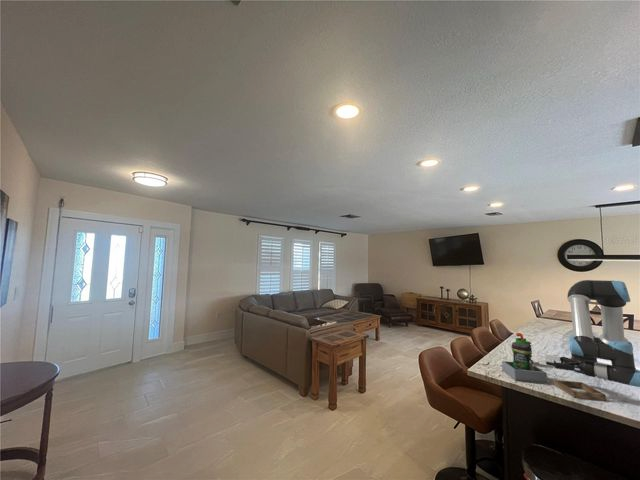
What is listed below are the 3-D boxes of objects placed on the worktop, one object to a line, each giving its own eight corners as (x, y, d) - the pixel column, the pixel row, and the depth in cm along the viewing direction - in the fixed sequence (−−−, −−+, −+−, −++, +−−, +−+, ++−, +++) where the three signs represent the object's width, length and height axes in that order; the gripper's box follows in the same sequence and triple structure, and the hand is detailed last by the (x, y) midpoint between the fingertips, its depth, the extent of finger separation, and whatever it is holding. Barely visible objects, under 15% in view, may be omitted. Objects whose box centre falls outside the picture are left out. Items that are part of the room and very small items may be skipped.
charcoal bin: (531, 373, 160) (530, 363, 161) (547, 383, 145) (546, 372, 146) (502, 370, 164) (501, 360, 164) (515, 380, 148) (514, 369, 149)
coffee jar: (511, 373, 156) (509, 342, 158) (516, 371, 161) (513, 340, 163) (531, 379, 148) (528, 345, 151) (535, 376, 153) (532, 343, 155)
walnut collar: (582, 387, 140) (581, 382, 140) (606, 401, 125) (605, 394, 126) (554, 385, 143) (554, 379, 143) (574, 397, 128) (574, 391, 129)
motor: (537, 366, 173) (534, 335, 176) (522, 364, 175) (519, 334, 178) (528, 361, 183) (525, 332, 186) (514, 360, 185) (511, 331, 187)
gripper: (592, 383, 124) (536, 370, 140) (599, 372, 139) (548, 361, 155) (590, 367, 125) (535, 355, 141) (597, 357, 140) (547, 348, 156)
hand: (542, 358), depth 148 cm, fingers open, 13 cm apart
